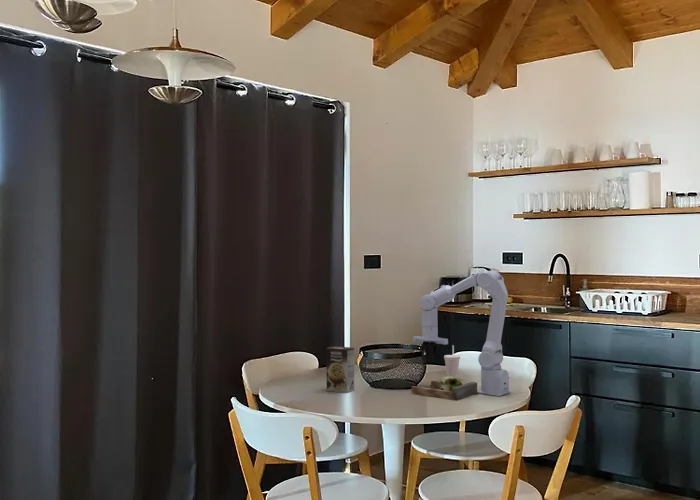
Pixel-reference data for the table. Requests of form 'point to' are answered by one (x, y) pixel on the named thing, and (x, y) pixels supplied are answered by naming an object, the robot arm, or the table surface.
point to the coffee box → (340, 369)
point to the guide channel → (455, 394)
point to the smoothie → (452, 364)
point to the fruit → (449, 383)
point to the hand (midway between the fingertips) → (430, 362)
